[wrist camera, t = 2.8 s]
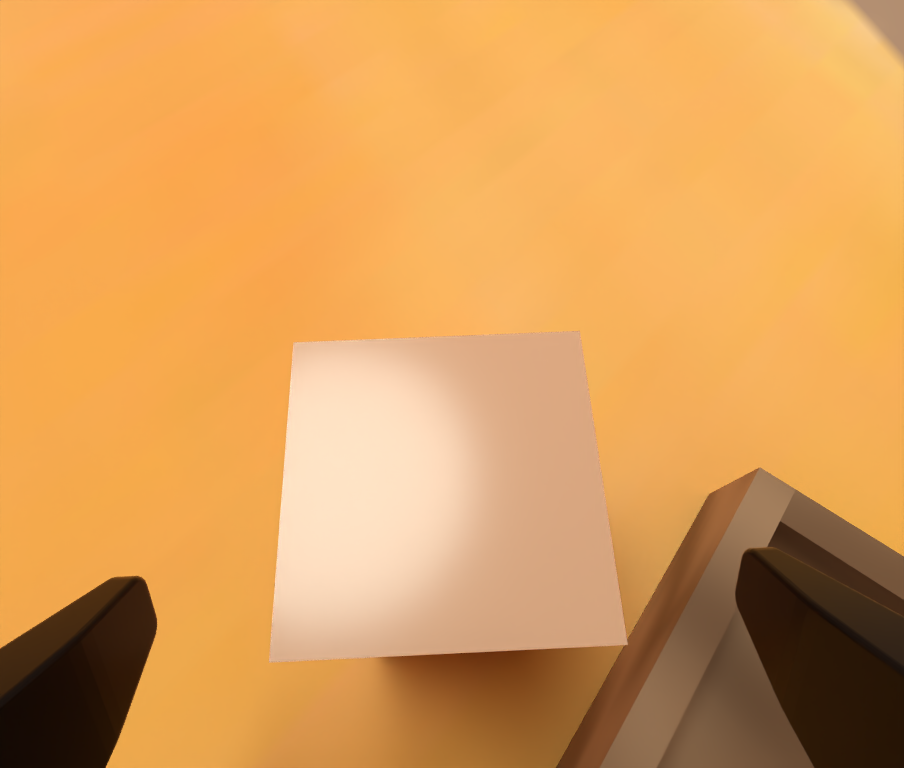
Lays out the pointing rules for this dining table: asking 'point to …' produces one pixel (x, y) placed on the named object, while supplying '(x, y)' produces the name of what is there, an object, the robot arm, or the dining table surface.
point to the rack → (721, 639)
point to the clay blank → (442, 501)
